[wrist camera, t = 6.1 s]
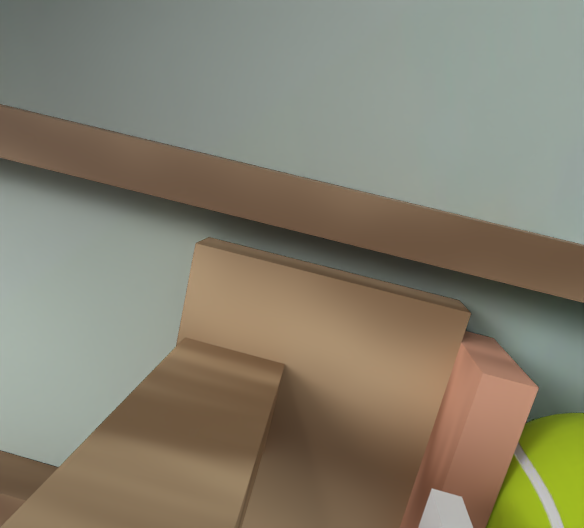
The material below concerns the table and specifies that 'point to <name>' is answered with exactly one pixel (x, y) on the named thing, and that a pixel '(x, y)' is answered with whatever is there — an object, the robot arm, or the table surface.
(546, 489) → the tennis ball
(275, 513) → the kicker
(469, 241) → the track rails
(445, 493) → the robot arm
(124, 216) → the table surface
